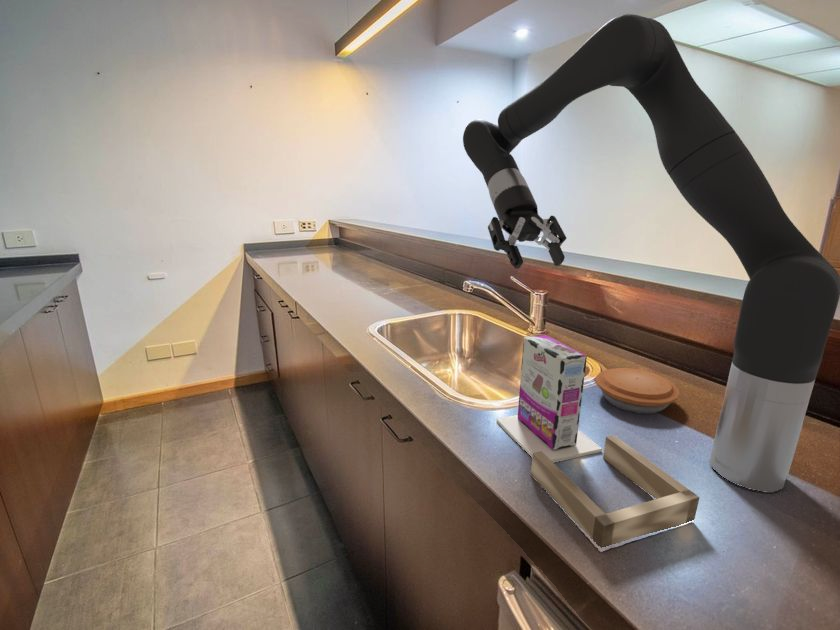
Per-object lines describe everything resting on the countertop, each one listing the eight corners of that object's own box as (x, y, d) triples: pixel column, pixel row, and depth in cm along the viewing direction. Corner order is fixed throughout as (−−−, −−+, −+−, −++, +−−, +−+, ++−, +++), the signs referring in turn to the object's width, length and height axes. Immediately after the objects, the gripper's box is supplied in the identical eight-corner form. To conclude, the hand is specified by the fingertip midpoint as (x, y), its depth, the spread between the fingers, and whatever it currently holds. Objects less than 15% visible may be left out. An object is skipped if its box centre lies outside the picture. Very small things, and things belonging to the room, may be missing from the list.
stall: (610, 456, 69) (613, 434, 68) (693, 522, 55) (699, 497, 54) (530, 475, 64) (532, 453, 63) (600, 552, 51) (604, 525, 49)
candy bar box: (578, 446, 71) (589, 355, 66) (553, 452, 69) (562, 359, 64) (538, 413, 81) (545, 332, 76) (516, 418, 79) (521, 336, 74)
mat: (551, 411, 83) (551, 408, 83) (601, 451, 70) (601, 448, 70) (496, 421, 79) (496, 418, 79) (539, 466, 66) (539, 463, 66)
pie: (674, 428, 77) (679, 404, 75) (585, 405, 85) (588, 383, 84) (679, 395, 89) (683, 373, 88) (601, 377, 97) (604, 357, 96)
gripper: (485, 183, 78) (514, 254, 71) (551, 183, 82) (584, 250, 75) (472, 211, 84) (497, 279, 77) (534, 210, 89) (562, 273, 82)
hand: (540, 264), depth 76 cm, fingers open, 8 cm apart
